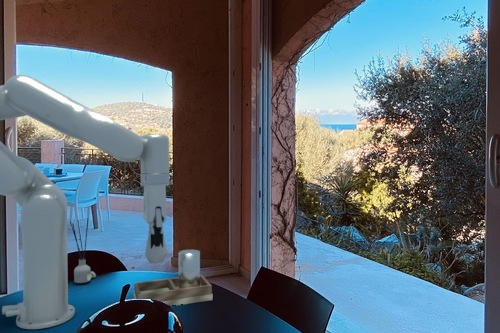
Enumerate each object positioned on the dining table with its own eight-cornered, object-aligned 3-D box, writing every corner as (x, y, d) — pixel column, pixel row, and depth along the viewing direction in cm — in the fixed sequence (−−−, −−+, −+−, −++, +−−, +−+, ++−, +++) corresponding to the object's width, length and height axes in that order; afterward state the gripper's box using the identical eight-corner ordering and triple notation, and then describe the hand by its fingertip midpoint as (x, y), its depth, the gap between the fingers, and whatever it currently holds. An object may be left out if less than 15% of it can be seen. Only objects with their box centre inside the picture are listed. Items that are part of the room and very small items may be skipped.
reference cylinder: (181, 295, 102) (180, 256, 102) (176, 288, 107) (176, 250, 107) (202, 292, 104) (202, 253, 104) (196, 285, 110) (196, 248, 109)
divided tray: (137, 311, 95) (137, 295, 95) (133, 296, 105) (133, 282, 105) (212, 299, 103) (212, 285, 103) (202, 287, 113) (202, 274, 113)
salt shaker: (161, 265, 99) (160, 216, 98) (141, 264, 100) (140, 215, 99) (170, 259, 104) (170, 212, 104) (151, 258, 105) (150, 212, 105)
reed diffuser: (81, 288, 111) (80, 222, 111) (60, 287, 112) (59, 221, 112) (99, 277, 121) (99, 216, 121) (80, 276, 122) (79, 215, 122)
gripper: (137, 178, 107) (138, 241, 108) (144, 182, 92) (145, 256, 93) (163, 177, 110) (164, 239, 111) (175, 181, 95) (175, 252, 96)
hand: (155, 246), depth 102 cm, fingers closed on salt shaker, 3 cm apart
